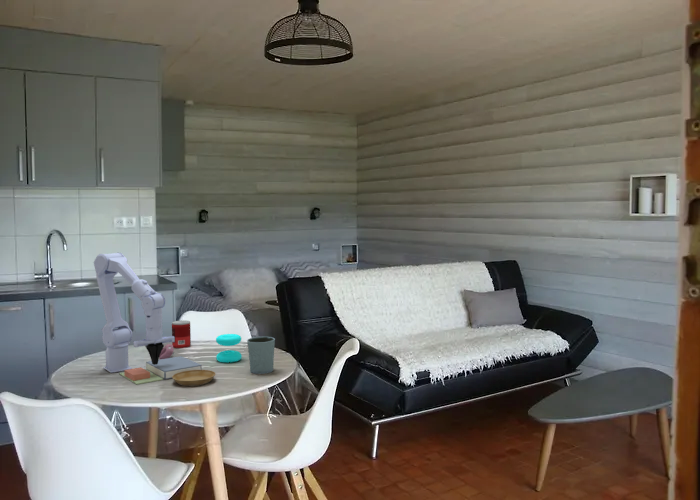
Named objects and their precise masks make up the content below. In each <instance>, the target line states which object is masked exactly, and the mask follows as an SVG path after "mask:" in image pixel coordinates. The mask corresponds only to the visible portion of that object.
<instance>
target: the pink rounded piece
mask: <svg viewBox="0 0 700 500" xmlns="http://www.w3.org/2000/svg"><path fill="white" fill-rule="evenodd" d="M174 350H175V349H174V347H173V345H172V343H166V345H164V347H163V349H162V351H161V353H160V356H159V360H160V359H166V358H172V356H173V355H174V354H175V351H174Z"/></svg>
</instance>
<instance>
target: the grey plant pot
mask: <svg viewBox="0 0 700 500" xmlns="http://www.w3.org/2000/svg"><path fill="white" fill-rule="evenodd" d="M275 340H276V338H274V337H272V336H256V337H255V336H254V337H250V338H248V339H247V340H246V341H247V342H246V343H247V347H248V348H247V350H248V358H249V359H248V360H249V367H250V369H249V370H250V371H249V372H250V373H252V374H256V375H263V374H265V373H266V374H271V373H272V372H274V363H275V358H274V357H275V356H274V355H275V345H276V343H275V342H276V341H275Z"/></svg>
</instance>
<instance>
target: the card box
mask: <svg viewBox="0 0 700 500" xmlns="http://www.w3.org/2000/svg"><path fill="white" fill-rule="evenodd" d="M145 369H146V368H143V367H142V366H141V367H134V368H132V369H128V370H124V371H123V372H124V374H125V376H126V377H128V378H130V379H131V380H133V381H135V380H141V379H146V378H150V372H149V371H147V370H145Z"/></svg>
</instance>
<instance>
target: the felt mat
mask: <svg viewBox="0 0 700 500" xmlns="http://www.w3.org/2000/svg"><path fill="white" fill-rule="evenodd" d="M144 369H145V370H146V368H144ZM147 371H148V370H147ZM149 372H150V371H149ZM118 374H119V375H120V376H122V377H123V378H125V379H127V380H128V381H130V382H132V383H133V384H135V385H137V386H138V385H143V384H148V383H154V382H159V381H163V380H164V379H163V378H161V377H159V376H157V375H155V374H154V373H152V372H150V378H146V379H141V380H135V381H133V380H131V379H130V378H128V377H126V376H125V374H124V371H121V372H118Z"/></svg>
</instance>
